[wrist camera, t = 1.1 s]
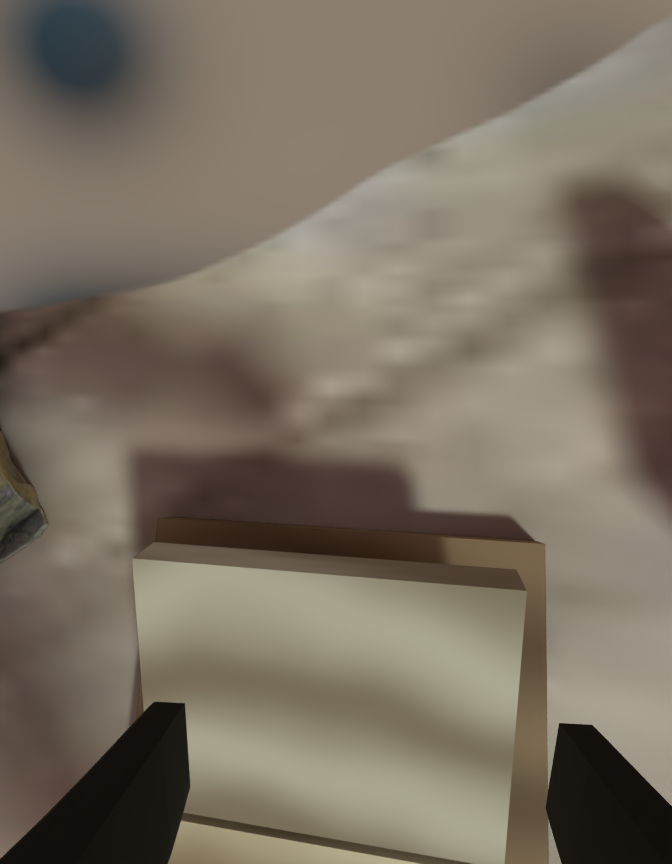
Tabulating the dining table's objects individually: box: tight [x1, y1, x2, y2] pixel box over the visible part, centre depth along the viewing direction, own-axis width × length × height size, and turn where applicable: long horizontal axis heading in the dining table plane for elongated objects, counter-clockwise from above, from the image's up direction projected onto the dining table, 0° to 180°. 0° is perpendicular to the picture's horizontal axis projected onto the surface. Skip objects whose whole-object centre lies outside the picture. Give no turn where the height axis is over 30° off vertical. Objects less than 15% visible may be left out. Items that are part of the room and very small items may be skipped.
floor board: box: [136, 517, 549, 864], centre depth 19 cm, size 19×18×3 cm
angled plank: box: [132, 542, 527, 864], centre depth 17 cm, size 11×14×2 cm
